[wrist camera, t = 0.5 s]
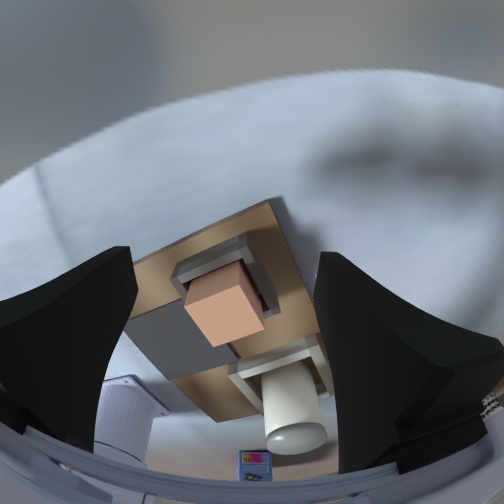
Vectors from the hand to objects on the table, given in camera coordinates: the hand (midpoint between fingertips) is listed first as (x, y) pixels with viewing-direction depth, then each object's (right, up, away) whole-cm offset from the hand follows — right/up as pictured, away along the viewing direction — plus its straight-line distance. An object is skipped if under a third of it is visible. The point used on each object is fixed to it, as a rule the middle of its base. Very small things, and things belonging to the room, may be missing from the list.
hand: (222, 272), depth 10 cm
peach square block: (-1, -2, +9) cm, 9 cm away
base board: (-1, -8, +14) cm, 16 cm away
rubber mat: (-5, -7, +13) cm, 16 cm away
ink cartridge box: (+1, -35, +27) cm, 44 cm away
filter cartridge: (+4, -11, +15) cm, 20 cm away
